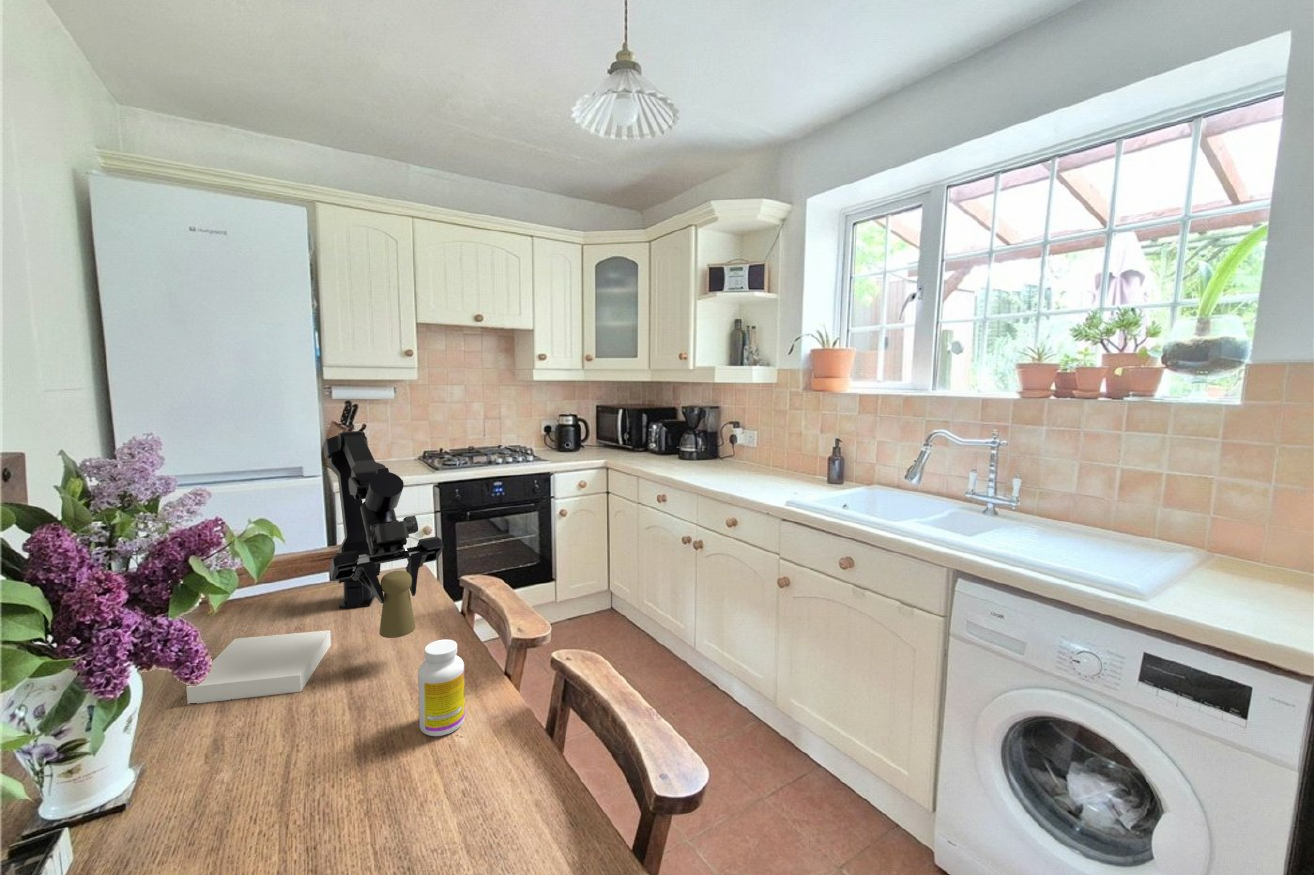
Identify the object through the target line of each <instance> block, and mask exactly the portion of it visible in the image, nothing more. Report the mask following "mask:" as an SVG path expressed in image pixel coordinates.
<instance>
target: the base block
mask: <svg viewBox="0 0 1314 875" xmlns="http://www.w3.org/2000/svg"><path fill="white" fill-rule="evenodd" d="M331 645H332V637H331V630H330V629H329V630H317V631H306V632H293V633H284V634H273V635H263V636H249V637H238V638H234V639H233V640H232V641H231V642H230V643H229V644H228V645H227V646H226V647H225V648H224V649H223V650H221V652H220V653H218V655H217V656H216V657H215V658H214V659H213V660H212V661H211V662H212V668H211V671H210V673H209V674H208V675H207V677H206V678H205V680H204V681H203V682H202V683H200V684H199V685H197V686H188V685H187V686H186V689H185V690H186V697H187V699H186V700H187V704H188V703H197V704H206V703H212V702H221V701H230V700H231V699H232V700H238V699H239V700H240V699H248V698H257V697H265V696H275V695H285V694H290V693H291V694H292V693H300V692H302V690H304V688H305V686H306V684H307V683H308V681H309V680H310V679H311V677H312V676H313V674H314V672H315V670H316V669H317V667H318V666H319V664H320V662H321V661H322V659H323V658H324V656H326V653H327V651H328V650H329V649H330V647H331ZM232 700H231V701H232Z"/></svg>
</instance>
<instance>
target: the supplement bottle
mask: <svg viewBox="0 0 1314 875" xmlns="http://www.w3.org/2000/svg"><path fill="white" fill-rule="evenodd" d="M457 653H458V643H457V642H456V641H455V640H453V639H440V640H437V639H436V640H435V641H432V642H430V643H428V644H427V645H426V646H425V648H424V656H423V657H424V659H425V660H424V661H423V662H422V663H421V664H420V666H419V668H418V671H417V681H418V683H417V684H418V685H417V686H418V719H419V720H418V722H419V724H418V725H419V729H420V731H421V732H422V733H423V734H425V735H427V736H428V737H429V736H430V737H443V736H447V735H448V734H451V733H453V732H455V731H456V730H458V729H459V728H460V727H461V726H462V725H463V723H464V721H465V719H466V718H465V717H466V702H465V701H466V700H465V699H466V698H465V697H466V696H465V695H466V694H465V688H466V687H465V686H466V685H465V662H464V661H463V659H462V657H460V656H459V655H457Z"/></svg>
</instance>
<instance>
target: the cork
mask: <svg viewBox="0 0 1314 875" xmlns="http://www.w3.org/2000/svg"><path fill="white" fill-rule="evenodd" d="M379 583H380V585H381V588H382V591H383V596H384V603H382V607H381V618H380V625H379V631H378V632H379V635H380V636H381V637H383V638H386V639H395V638H402V637H405V636H407V635H410V634H411V633H413V632H414V631H415V630H416V623H415V617H414V616H415V615H414V611H413V605H412V599H411V592H410V587H411V584H412V577H411V575H410V574H409V573H408V572H406V570H393V571H390V572H387V573H386V574H384V575H383V576H382V578H381V580H380V582H379Z"/></svg>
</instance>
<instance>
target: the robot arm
mask: <svg viewBox="0 0 1314 875" xmlns="http://www.w3.org/2000/svg"><path fill="white" fill-rule="evenodd" d="M368 442H369V441H368V437H367V436H366V433H365V431H361V430H350V431H349V430H348V431H341V432H338V434H337V435H335V436H332V437H329V438H327V439H326V440H325V442H324V444H323V455H324V459H325V460H326V459H327V463H328V467H329V469H330V470H331V471H332V472H333V473H334V474H335V475H336V477H337V481H338V482H337V483H338V491H339V492H338V493H339V498H340V507H341V515H342V516H341V517H342V525H343V533H344V534H343V535H344V539H343V540H342V542H341V545H340V546H339V548H338V551H337V553H335V554H334V555H333V556H332V558H331V561H330V566H329V574H330V578H331V581H335V582H336V581H337V583H338V584H342V583H343V599H342V601H341V602H340V603H339V605H338V608H339V609H347V608H357V607H358V608H359V607H360V608H361V607H369V606H370V607H371V605H372V604H373V602H374V601H375V598H376V599H377V601H378V602H379V603H380V604H382V605H383V603H384V592H383V591H382V588H381V585H380V583H381V582H380V580H379V576H380V573H381V565H382V564H384V563H390V562H394V561H395V562H396V561H401V560H406V561H407V564H406V567H405V571H406V572H408V573H409V574H410V575H411V577H412V584H411V587H410V588H409V592H410V595H411V596H412V597H415V596H416V593H417V584H418V578H419V577H418V575H419V570H420V568H422V567H423V565H424V564H425V563H430V562H435V561H437V560H438V559H439V557H440V556H441V554H442V552H443V549H444V548H445V546H444V543H443V540H442V538H441V537H438V536H432V537H425V538H420V539H419V540H418V541H417V544H416V546H412V547H406V548H405V547H404V546H405V545H407V543H408V541H407V539H409V538H410V535H412V534H416V533H417V532H419V524H418V520H417V517H416V515H409V516H405V517H403V519H402V520H401V521H399V520H398V518H397V515H396V510H395V509H396V508H397V507H398V505H399V502H400V498H401V496H402V492H403V490H404V486H405V482H404V480H403V479H402V478H401V477H400V476H399V475H397V474H395V473H394V472H390V470H389V467H387V466H386V465H384V464H383V463H380V462H378V461H376V460H375V458H374V456H373V454H372V452H371V450H370V448H369V443H368ZM363 500H364V501H363Z"/></svg>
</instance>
